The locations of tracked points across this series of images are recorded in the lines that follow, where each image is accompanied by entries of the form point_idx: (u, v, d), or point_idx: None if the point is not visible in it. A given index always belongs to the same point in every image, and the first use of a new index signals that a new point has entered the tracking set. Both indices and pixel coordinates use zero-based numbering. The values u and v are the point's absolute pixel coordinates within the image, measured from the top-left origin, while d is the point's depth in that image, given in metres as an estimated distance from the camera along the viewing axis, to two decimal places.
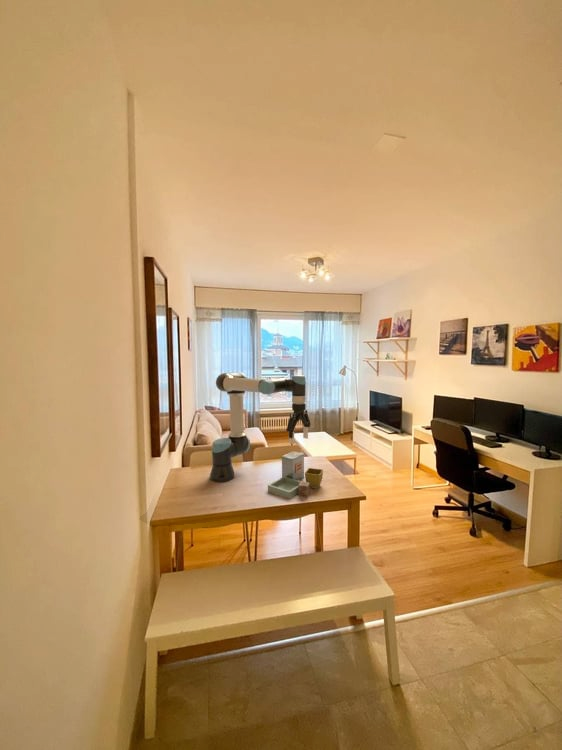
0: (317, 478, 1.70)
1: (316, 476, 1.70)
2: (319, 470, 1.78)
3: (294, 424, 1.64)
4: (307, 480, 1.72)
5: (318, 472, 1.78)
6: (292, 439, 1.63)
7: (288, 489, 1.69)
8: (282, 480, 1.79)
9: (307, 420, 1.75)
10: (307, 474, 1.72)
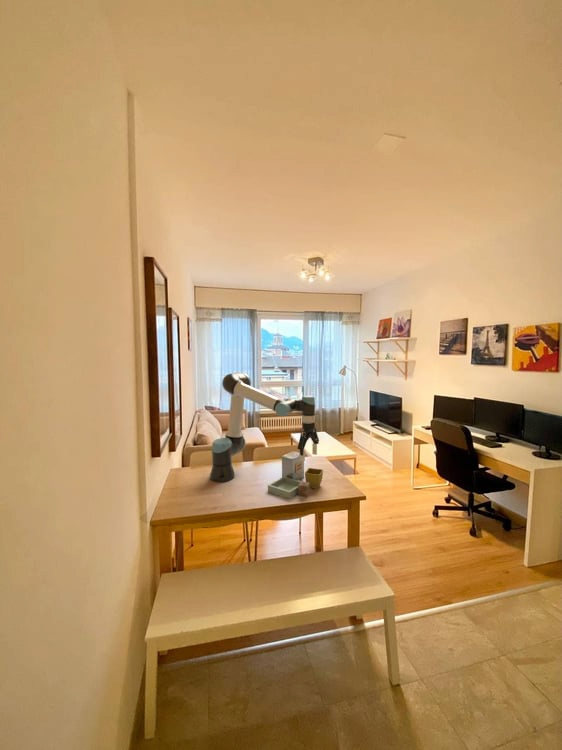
0: (317, 478, 1.70)
1: (316, 476, 1.70)
2: (319, 470, 1.78)
3: (304, 442, 1.75)
4: (307, 480, 1.72)
5: (318, 472, 1.78)
6: (303, 456, 1.75)
7: (288, 489, 1.69)
8: (282, 480, 1.79)
9: (316, 437, 1.86)
10: (307, 474, 1.72)
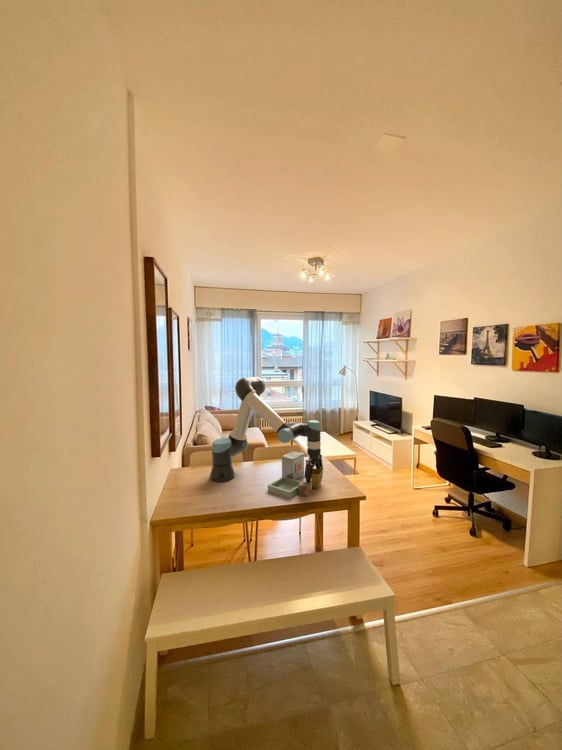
0: (317, 478, 1.70)
1: (316, 476, 1.70)
2: (319, 470, 1.78)
3: (311, 470, 1.70)
4: None
5: (318, 472, 1.78)
6: (310, 485, 1.70)
7: (288, 489, 1.69)
8: (282, 480, 1.79)
9: (320, 465, 1.79)
10: None
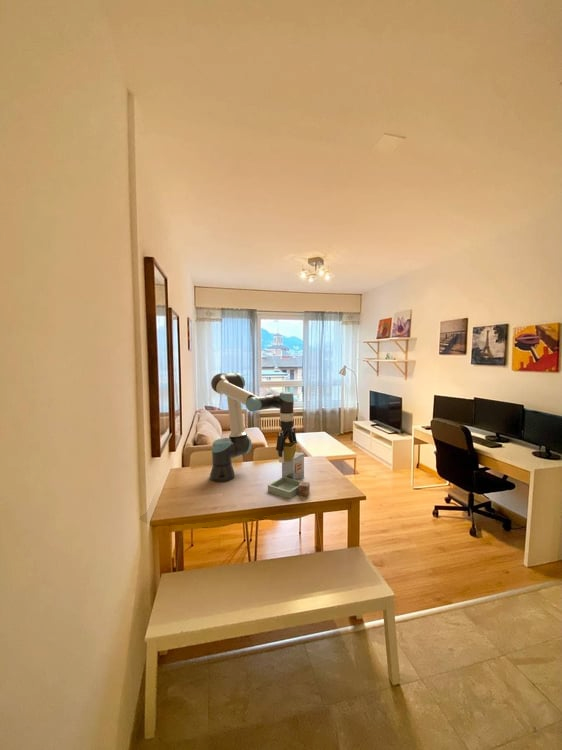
0: (289, 451, 1.65)
1: (288, 449, 1.65)
2: (292, 444, 1.73)
3: (283, 443, 1.65)
4: None
5: (291, 446, 1.73)
6: (282, 458, 1.65)
7: (288, 489, 1.69)
8: (282, 480, 1.79)
9: (294, 438, 1.74)
10: None
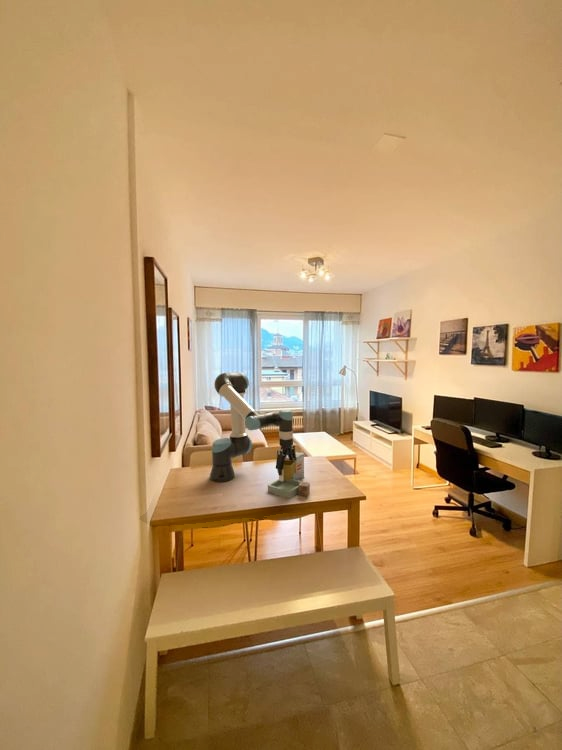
0: (289, 469, 1.65)
1: (288, 467, 1.65)
2: (292, 461, 1.73)
3: (282, 461, 1.65)
4: None
5: (291, 463, 1.73)
6: (281, 476, 1.66)
7: (288, 489, 1.69)
8: None
9: (294, 456, 1.75)
10: None
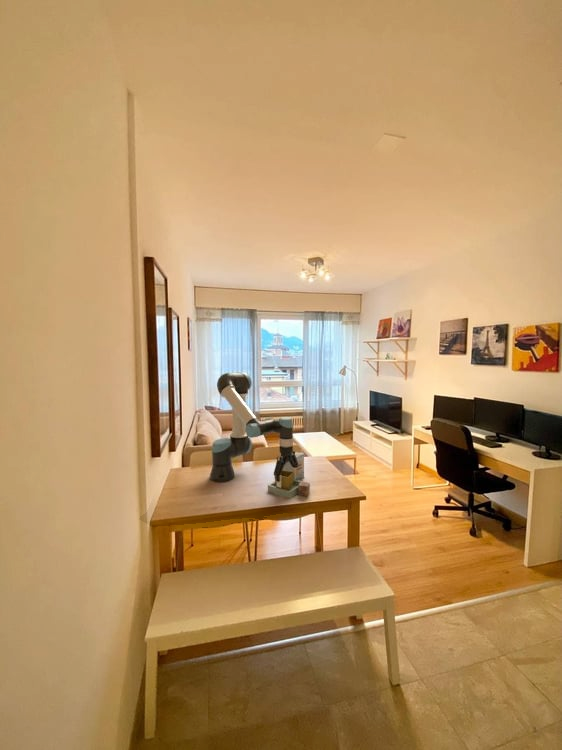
0: (286, 480, 1.64)
1: (285, 478, 1.64)
2: (290, 472, 1.72)
3: (281, 467, 1.65)
4: (276, 482, 1.67)
5: (289, 474, 1.72)
6: (279, 482, 1.64)
7: None
8: None
9: (295, 461, 1.76)
10: None
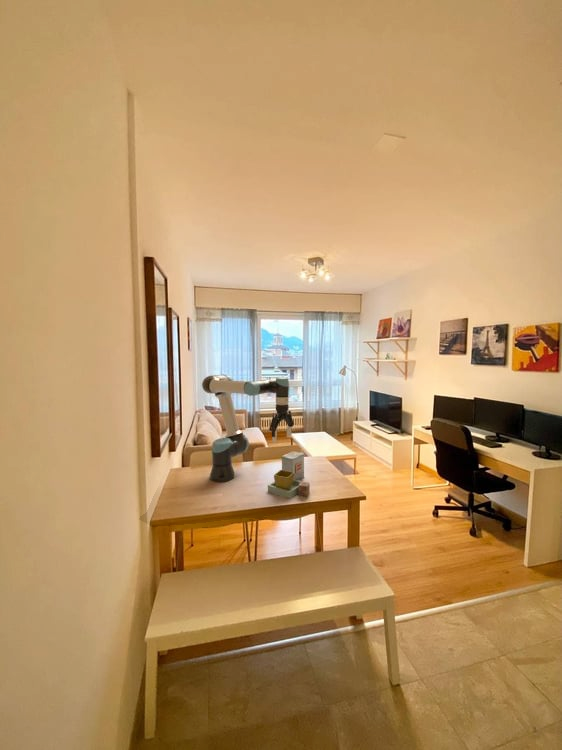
0: (286, 481, 1.64)
1: (284, 479, 1.64)
2: (290, 472, 1.72)
3: (277, 424, 1.74)
4: (276, 482, 1.67)
5: (289, 474, 1.72)
6: (274, 438, 1.73)
7: None
8: None
9: (290, 420, 1.84)
10: (276, 476, 1.66)
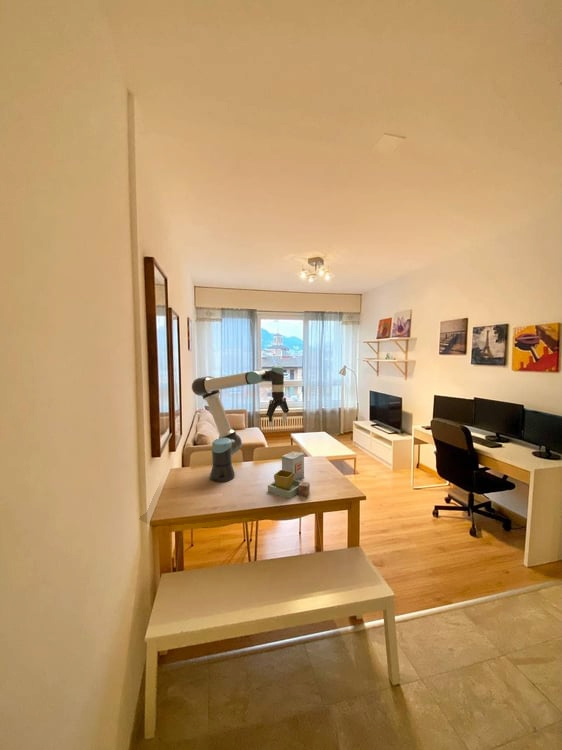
0: (286, 481, 1.64)
1: (284, 479, 1.64)
2: (290, 472, 1.72)
3: (273, 409, 1.87)
4: (276, 482, 1.67)
5: (289, 474, 1.72)
6: (271, 422, 1.86)
7: None
8: None
9: (286, 407, 1.98)
10: (276, 476, 1.66)
